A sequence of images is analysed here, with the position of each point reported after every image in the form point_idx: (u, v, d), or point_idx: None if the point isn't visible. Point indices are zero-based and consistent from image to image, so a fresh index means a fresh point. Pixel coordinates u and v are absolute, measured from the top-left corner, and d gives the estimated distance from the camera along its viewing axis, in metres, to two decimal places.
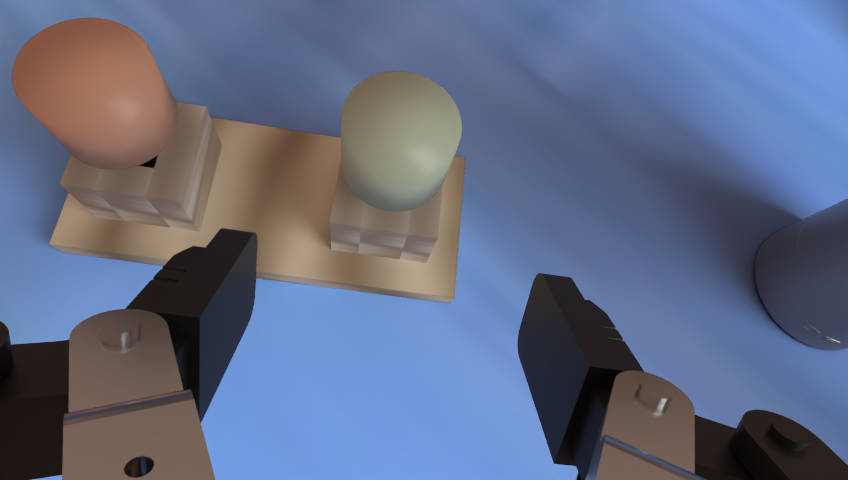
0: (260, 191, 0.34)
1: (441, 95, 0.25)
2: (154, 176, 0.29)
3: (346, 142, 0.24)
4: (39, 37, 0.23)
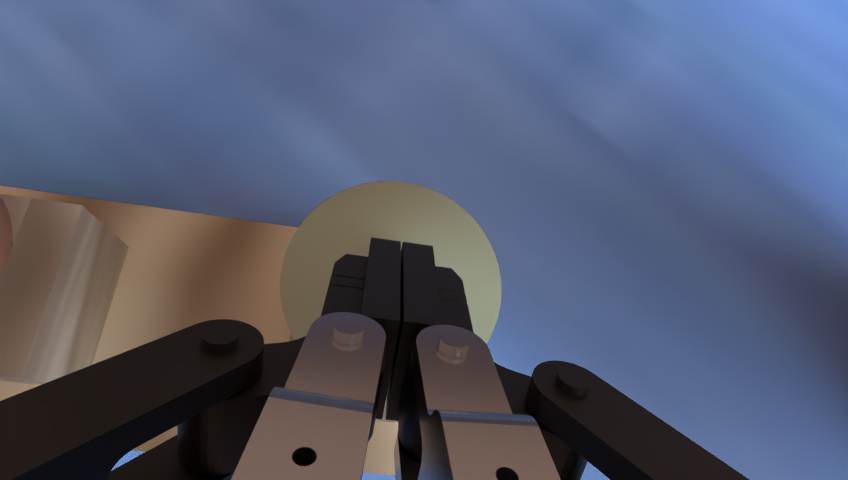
0: (184, 318, 0.22)
1: (463, 225, 0.14)
2: None
3: None
4: None
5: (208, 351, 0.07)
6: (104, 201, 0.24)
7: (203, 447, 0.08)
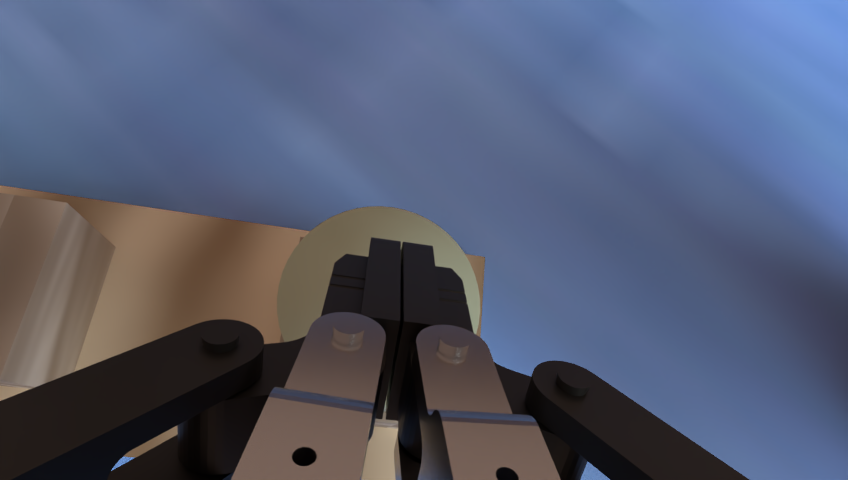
0: (172, 320, 0.22)
1: (446, 247, 0.16)
2: None
3: None
4: None
5: (208, 351, 0.07)
6: (91, 200, 0.23)
7: (203, 447, 0.08)
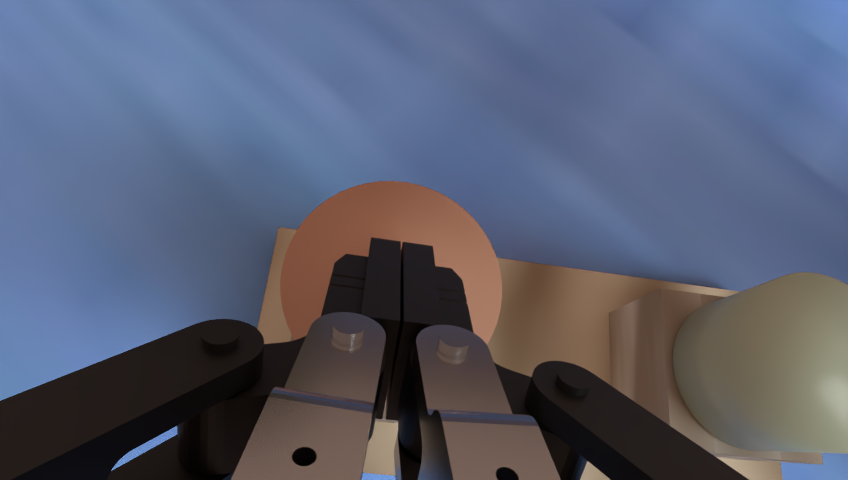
0: (505, 358, 0.24)
1: None
2: None
3: (764, 398, 0.16)
4: (312, 223, 0.14)
5: (208, 351, 0.07)
6: None
7: (203, 447, 0.08)
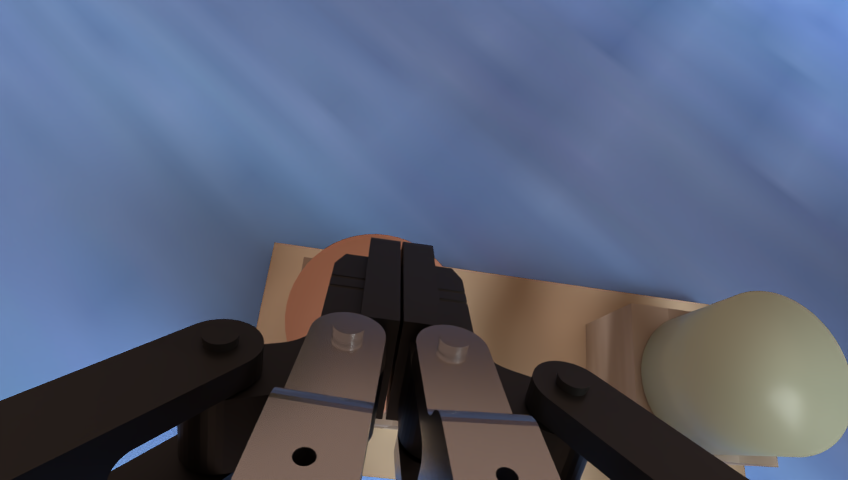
0: None
1: (814, 324, 0.19)
2: None
3: (718, 407, 0.18)
4: (310, 269, 0.17)
5: (208, 351, 0.07)
6: None
7: (203, 447, 0.08)
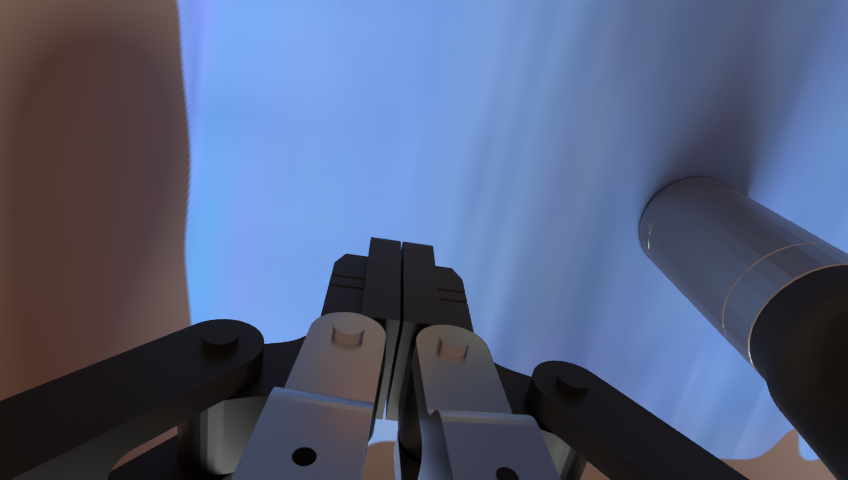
0: None
1: None
2: None
3: None
4: None
5: (208, 351, 0.07)
6: None
7: (203, 447, 0.08)
